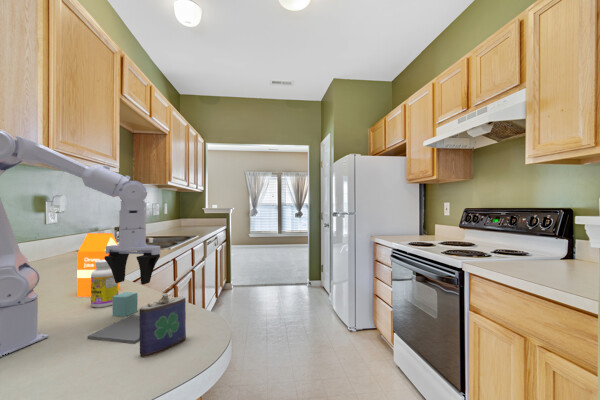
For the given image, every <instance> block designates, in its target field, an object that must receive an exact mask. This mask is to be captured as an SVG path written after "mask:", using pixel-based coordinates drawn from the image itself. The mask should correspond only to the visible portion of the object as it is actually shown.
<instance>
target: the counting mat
mask: <svg viewBox="0 0 600 400" xmlns="http://www.w3.org/2000/svg"><path fill="white" fill-rule="evenodd" d="M139 318H140V314H130V315H128V316H126V317H124V318H123V319H122V318H121V319H120V320H118V321H116V322H113V323H111V324H109V325H108V326H105V327H103V328H101V329H98V330H97V331H95V332H92V333H91V334H89V335H87V340H88V339H89V340H96V341H97V340H98V341H107V342H115V343H117V342H118V343H125V344H134V345H135V344H137V343H138V342H140V322H139V321H140V320H139Z"/></svg>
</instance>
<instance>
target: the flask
mask: <svg viewBox="0 0 600 400" xmlns="http://www.w3.org/2000/svg"><path fill="white" fill-rule="evenodd" d="M170 296H171V294H168V293H167V292H165V293H162V294H161V298H160V299H158V301H153V303H152V304H151V303H150V302H148V303H147V304H146V305H143V306H142V307H140V308H139V309H138V312H139V313H138V315H140V318H139V320H140V321H139V322H140V341H139V357H141V358H145V357H146V358H147V357H148V358H149V357H151V356H154V355H157V354H159V353H162V352H164V351H166V350H169V349H171V348H173V347H175V346H177V345H179V344H181V343H183V342H184V341H186V339H187V331H186V330H187V328H186V324H187V323H186V318H187V317H186V315H187V313H186V311H187V310H186V301H187V300H186V297H185V296H176V297H174V298H171V299H170Z"/></svg>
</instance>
